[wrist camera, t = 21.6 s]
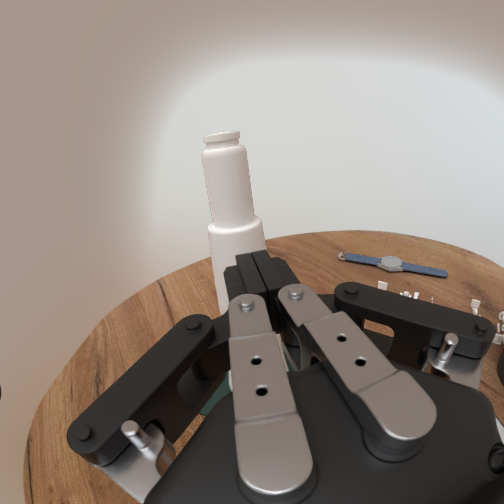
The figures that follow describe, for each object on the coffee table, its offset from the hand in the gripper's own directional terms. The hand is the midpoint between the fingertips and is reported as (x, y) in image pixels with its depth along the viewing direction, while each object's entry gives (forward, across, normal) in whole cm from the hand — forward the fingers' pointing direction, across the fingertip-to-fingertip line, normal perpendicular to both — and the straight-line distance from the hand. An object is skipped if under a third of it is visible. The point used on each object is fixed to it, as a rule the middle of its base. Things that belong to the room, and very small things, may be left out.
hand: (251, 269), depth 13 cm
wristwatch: (+20, -26, +16) cm, 36 cm away
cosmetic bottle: (+5, 0, +16) cm, 17 cm away
